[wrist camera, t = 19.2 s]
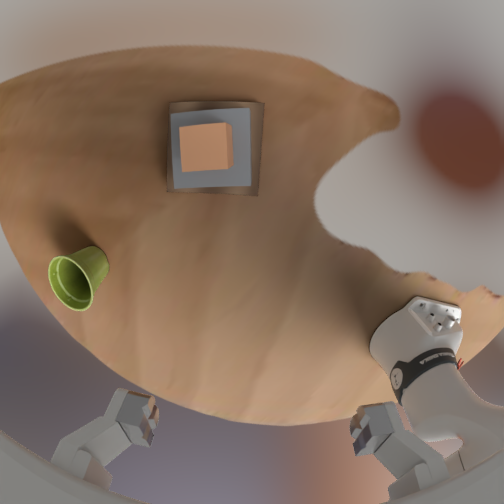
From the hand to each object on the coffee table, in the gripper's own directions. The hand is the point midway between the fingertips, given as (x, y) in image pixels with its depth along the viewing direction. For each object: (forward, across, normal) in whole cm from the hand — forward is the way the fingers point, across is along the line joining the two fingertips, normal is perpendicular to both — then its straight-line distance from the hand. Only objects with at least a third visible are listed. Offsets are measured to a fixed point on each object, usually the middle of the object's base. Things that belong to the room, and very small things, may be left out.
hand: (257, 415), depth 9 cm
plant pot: (+31, -28, -10) cm, 43 cm away
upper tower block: (+28, -6, +9) cm, 30 cm away
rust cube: (+25, -6, +9) cm, 27 cm away
